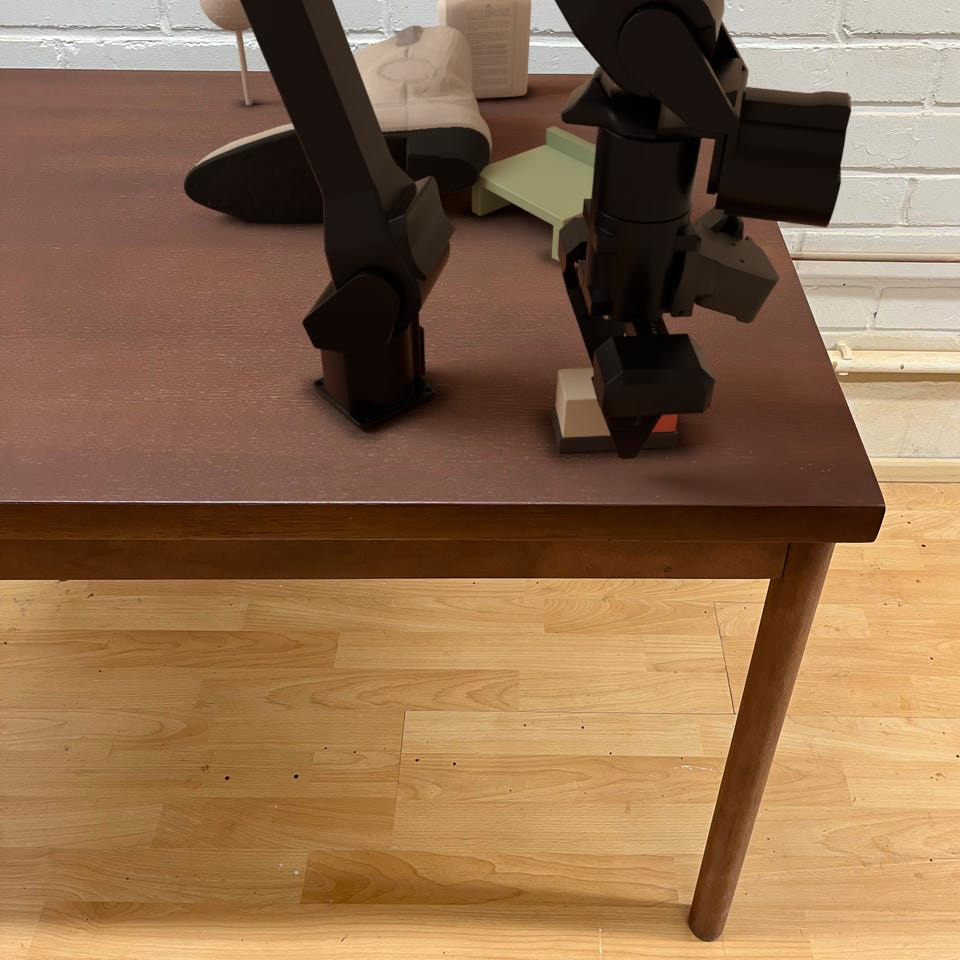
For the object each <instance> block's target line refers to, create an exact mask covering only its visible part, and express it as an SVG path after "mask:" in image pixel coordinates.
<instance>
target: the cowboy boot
mask: <svg viewBox="0 0 960 960" xmlns="http://www.w3.org/2000/svg"><path fill="white" fill-rule="evenodd" d="M353 56H354V59H355V61H356V64H357V67H358V69H359V72H360V75H361V77H362V80H363V83H364V85H365V88H366V91H367V93H368V96H369V99H370V101H371V104H372V107H373V109H374V112H375V115H376V117H377V120H378V123H379V125H380V128H381V131H382V133H383V136H384V139H385V141H386V144H387V147H388V149H389V152H390V154H391V156H392V158H393V160H394V162H395V163H396V164H397V166H398V167H400V168H401V169H402V170H403V171H404V172H405V173H406V174H407V175H408V176H409V177H410V178H411V179H412V180H413V181H414V182H417V181H419V180H421V179H424V178H426V177H429V176H433V177H434V179H435V181H436V183H437V186H438V191H439V194H447V193H448V194H451V193H458V192H462V191H465V190H468V189H470V188H472V186H473V185H474V183H475V182H476V181H477V179H478V177H479V174H480V173H481V171H482V170H483V168H484V167H485V166H487V165H490V159H491V155H492V150H493V140H492V134H491V130H490V128H489V125H488V124H487V122H486V121H485V119H484V118H483V117H482V115H481V113H480V108H479V105H478V100H477V99H475V97H474V94H473V78H472V57H471V50H470V45H469V42H468V40H467V39H466V37H465V36H464V35H463V34H462V33H461V32H460V31H459V30H457V29H455V28H452V27H448V26H438V25H437V26H422V25H411V26H408V27H405V28H402V29H401V30H399V31H398V32H397V33H395V35H394V36H392V37H390V38H387V39H384V40H381V41H378V42H375V43H373V44H371V45H369V46H366V47H364V48H362V49H360V50H358V51H356V52H354V53H353ZM183 189H184V191H185V192H184V194H185V195H186V196H187V197H188V198H189V200H190V201H193V202H194V203H195V204H198V205H200V206H203V207H205V208H207V209H210V210H213V211H216V212H219V213H222V214H225V215H228V216H232V217H235V218H237V219H238V218H239V219H243V220H246V221H250V222H255V223H259V224H270V225H271V224H275V225H276V224H277V225H307V224H308V225H309V224H322V223H323V224H324V217H323V198H322V194H321V190H320V188H319V185H318V183H317V181H316V178H315V176H314V174H313V171H312V169H311V167H310V164H309V162H308V160H307V157H306V155H305V152H304V150H303V148H302V145H301V143H300V141H299V138H298V136H297V134H296V131H295V129H294V127H293V124H292V122H291V123H287V124H282V125H279V126H277V127H273V128H270V129H267V130H264V131H261V132H258V133H255V134H252V135H249V136H245V137H242V138H239V139H237V140H234V141H231V142H229V143H227V144H225V145H223V146H221V147H219V148H217V149H215V150H214V151H212V152H210V153H208V154H207V155H206V156H205V157H203V158H202V159H201V160H200V161H199V162H198V163H196V164H195V165H194V166H193V167H192V168H191V169H190V170H189V171H188V173H187V174H186V176H185V178H184V181H183Z"/></svg>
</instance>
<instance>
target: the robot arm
mask: <svg viewBox="0 0 960 960" xmlns="http://www.w3.org/2000/svg"><path fill="white" fill-rule="evenodd" d="M554 2H555V4H556V6H557V8H558V9H559V11H560V13H561V14H562V16H563V18H564V19H565V21H566V23H567V25H568V27H569V29H570V30H571V32H572V34H573V35H574V36H575V38H576V39H577V40H578V42H579V43H580V44H581V45H582V46H583V48H584V49H585V50H586V51H587V52H588V54H589V55H590V56H591V57H592V58H593V59H594V61H595V62H596V63H597V64H598V66H597V67H596V69H595V70H594V72H593V73H592V75H591V76H590V77H589V78H588V79H587V80H586V81H584V82H583V83H581V84H580V85H578V86H576V87H575V88H573V90H572V92H571V93H570V96H569V97H568V99H567V102H566V104H565V106H564V107H563V109H562V111H561V113H560V118H561V121H562V122H563V123H565V124H567V125H573V126H574V125H575V126H576V125H577V126H583V127H594V128H596V139H595V145H596V149H595V161H594V172H593V184H592V195H591V199H584V202H583V217H574V218H572V219H571V220H570V221H569V222H568V223H567V224H566V225H565V226H563V227H562V228H561V229H560V230H559V241H558V258H559V261H560V262H559V261H558V262H559V264H560V268H561V276H562V279H563V284H564V287H565V291H566V294H567V296H568V300H569V302H570V306H571V309H572V311H573V315H574V317H575V320H576V323H577V325H578V329H579V332H580V335H581V337H582V341H583V343H584V347H585V349H586V352H587V355H588V359H589V361H590V364H591V368H593V374H594V376H592V377H591V380H592V384H593V387H594V391H595V395H596V398H597V402H598V405H599V407H600V409H601V411H602V414H603V417H604V419H605V422H606V424H607V427H608V429H609V432H610V435H611V437H612V440H613V443H614V446H615V448H616V450H615V451H616V453H617V456H618V458H619V459H620V460H629V459H630V460H631V459H635V458H637V456H638V455H639V454H640V452H641V451H642V449H641V448H642V447H643V445H644V443H645V442H646V440H647V439H648V437H649V435H650V434H651V432H652V430H653V429H654V427H655V426H656V424H657V422H658V421H659V420H660V418H661V417H662V416H663V415H672V414H678V415H693V414H704V413H705V412H706V411H707V410H708V409H710V407H711V403H712V399H713V394H714V388H715V384H716V379H715V376H714V374H713V371H712V369H711V368H710V365H709V362H708V361H707V360H708V359H707V358H706V356H705V354H704V351H703V348H702V346H701V345H700V344H699V343H698V342H697V341H696V340H695V339H693V337H691V336H690V335H689V333H670V332H669V330H668V329H669V328H668V327H667V324H666V322H665V319H664V314H670V317H672V318H690V317H693V312H694V306H695V305H697V306H699V307H701V308H704V309H707V310H710V311H714V312H717V313H721V314H724V315H727V316H730V317H734V318H735V320H736V321H737V322H739V323H744V324H752V323H753V322H754V320H755V319H756V317H757V316H758V315H759V313H760V311H761V309H762V308H763V306H764V305H765V303H766V302H767V300H768V298H769V296H770V295H771V294H772V292H773V291H774V289H775V287H776V286H777V284H778V283H779V281H780V276H779V274H778V272H777V270H776V269H775V267H774V266H773V264H772V262H771V260H770V259H769V257H768V255H767V254H766V252H765V250H764V249H762V247H760V246H759V245H758V244H756V242H755V241H754V239H753V237H751V236H748V235H746V236H745V237H744V234H745V233H744V232H745V223H744V220H743V219H742V218H746V219H747V218H748V219H754V220H763V221H770V222H771V221H772V222H780V223H787V224H796V225H802V226H803V225H804V226H810V227H811V226H812V227H818V228H819V227H820V228H828V226H829V225H830V223H831V220H832V218H833V214H834V211H835V208H836V205H837V200H838V198H839V197H838V196H839V193H840V189H841V184H842V161H843V157H844V149H845V145H846V136H847V129H848V125H849V122H850V118H851V114H852V96H851V95H850V94H849V93H848V92H842V91H832V90H831V91H830V90H822V91H815V92H814V91H813V92H802V91H792V90H784V89H783V90H782V89H771V88H763V87H762V88H761V87H752V86H747V85H748V78H749V74H750V73H749V68H748V66H747V65H746V62H745V61H744V59H743V57H742V55H741V53H740V51H739V50H738V47H737V46H736V44H735V42H734V40H733V38H732V36H731V34H730V32H729V31H728V29H727V27H726V25H725V23H724V21H723V17H724V13H725V0H554ZM240 3H241V5H242V7H243V10H244V12H245V14H246V17H247V19H248V21H249V24H250V26H251V28H250V29H251V31H252V33H253V35H254V37H255V40H256V42H257V45H258V47H259V49H260V52H261V54H262V56H263V59H264V61H265V63H266V66H267V68H268V70H269V73H270V75H271V78H272V81H273V83H274V85H275V87H276V89H277V92H278V94H279V97H280V98H281V99H280V100H282V104H283V105H284V108H285V110H286V113H287V115H288V118H289V120H290V122H291V123H292V124H293V127H294V129H295V131H296V134H297V136H298V138H299V141H300V143H301V145H302V148H303V150H304V152H305V155H306V157H307V160H308V162H309V164H310V167H311V169H312V171H313V174H314V176H315V178H316V181H317V183H318V185H319V188H320V190H321V194H322V198H323V217H324V223H323V249H324V250H323V251H324V255H325V260H326V263H327V267H328V270H329V275H330V278H331V280H330V282H329V283H328V284H327V286H326V287H325V288H324V290H323V291H322V293H321V294H320V296H319V297H318V298H317V299H316V301H315V303H314V304H313V305H312V307H311V308H310V310H309V311H308V312H307V314H306V315H305V317H304V318H303V319H302V322H301V323H302V326H303V329H304V330H305V332H306V334H307V336H308V338H309V340H310V342H311V344H312V346H313V347H314V349H317V350H320V351H319V352H320V359H321V367H322V368H321V369H322V376H323V377H321V378H320V377H319V378H318V379H316V380H314V381H313V382H312V385H313V386H312V388H313V391H314V392H316V393H317V394H318V395H319V396H320V397H321V398H323V399H324V400H325V401H326V402H328V404H330V405H331V406H332V407H333V408H334V409H335V410H337V411H338V412H339V413H340V414H341V415H342V416H344V417H345V418H346V419H347V420H348V421H349V422H351V423H352V424H353V425H354V426H355V427H357V428H358V429H359V430H362V431H367V430H370V429H373V428H374V427H376V426H378V425H380V424H382V423H385V422H386V421H389V420H390V419H392V418H394V417H397V416H398V415H400V414H403V413H404V412H407V411H409V410H410V409H413V408H415V407H417V406H419V405H421V404H423V403H425V402H427V401H429V400H431V399H433V398H434V397H436V388H435V387H434V386H433V385H431V384H430V383H429V382H427V381H426V380H425V379H423V377H425V375H426V371H427V370H426V347H425V346H426V345H425V344H426V343H425V342H426V341H425V328H424V326H422V325H421V324H420V311H421V310H422V308H423V306H424V304H425V302H426V301H427V299H428V297H429V295H430V294H431V292H432V290H433V288H434V286H435V285H436V283H437V281H438V279H439V278H440V276H441V274H442V273H443V270H444V269H445V267H446V265H447V264H448V261H449V258H450V256H451V243H450V240H451V239H452V237H453V235H454V233H455V231H456V227H455V226H454V225H453V223H452V222H451V221H450V219H449V218H448V217H447V215H446V213H445V211H444V209H443V205H442V202H441V197H440V193H439V191H438V186H437V183H436V181H435V179H434V177H433V176H429V177H426V178H424V179H421V180H419V181H417V182H414V181H413V180H412V179H411V178H410V177H409V176H408V175H407V174H406V173H405V172H404V171H403V170H402V169H401V168H400V167H398V166H397V164H396V163H395V162H394V160H393V158H392V156H391V154H390V152H389V149H388V147H387V144H386V141H385V139H384V136H383V133H382V131H381V128H380V125H379V123H378V120H377V117H376V115H375V112H374V109H373V107H372V104H371V101H370V99H369V96H368V93H367V91H366V88H365V85H364V83H363V80H362V77H361V75H360V72H359V69H358V67H357V64H356V61H355V59H354V56H353V54H354V53H353V50H352V48H351V45H350V42H349V40H348V38H347V35H346V32H345V29H344V27H343V25H342V21H341V19H340V17H339V14H338V11H337V8H336V5H335V3H334V0H240ZM703 139H705V140H706V139H707V140H714V144H713V150H712V155H711V162H710V167H709V171H708V172H709V173H708V179H707V185H706V191H705V194H706V195H712V196H715V195H716V197H715V198H716V199H715V204H714V205H713V206H712V207H711V208H710V209H709V210H707V211H706V212H705V213H703V214H702V215H701V216H700V217H699V218H697V219H695V221H694V222H692V220H691V212H692V206H693V199H694V194H695V187H696V182H697V174H698V168H699V162H700V156H701V150H702V144H703Z"/></svg>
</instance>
